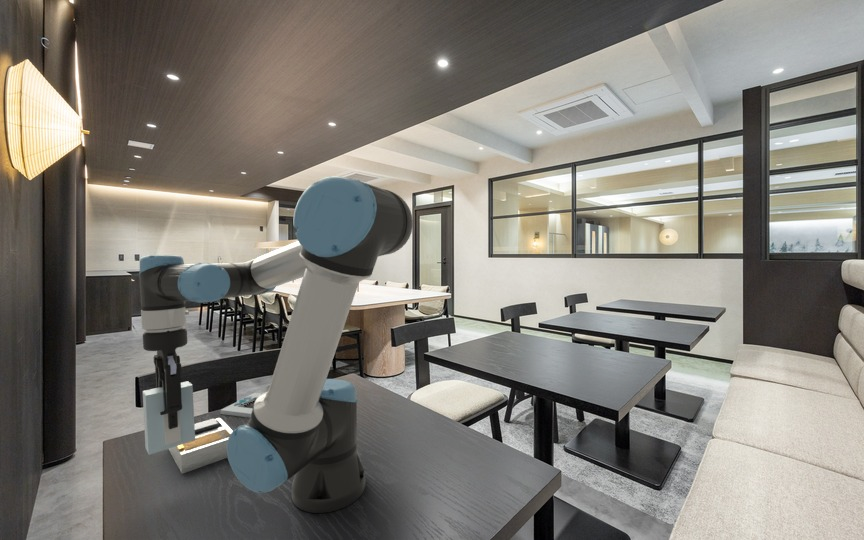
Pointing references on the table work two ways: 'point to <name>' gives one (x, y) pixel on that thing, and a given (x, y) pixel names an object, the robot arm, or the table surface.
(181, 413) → the block
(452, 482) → the table surface
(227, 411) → the electronic device
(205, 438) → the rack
